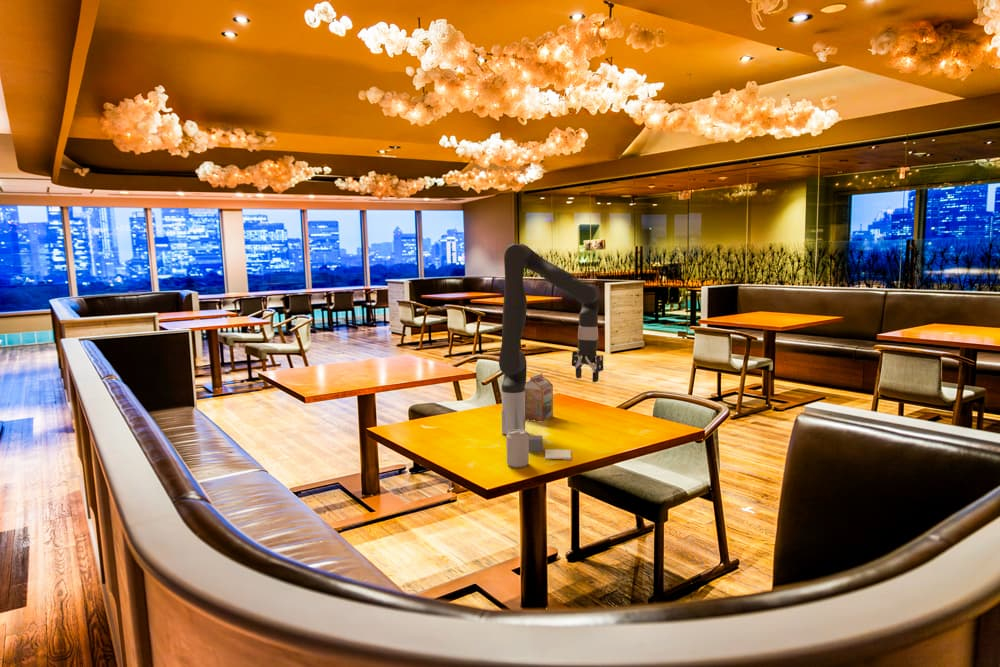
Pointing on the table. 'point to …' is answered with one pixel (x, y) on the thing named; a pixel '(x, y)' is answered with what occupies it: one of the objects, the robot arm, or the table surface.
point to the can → (517, 448)
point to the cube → (535, 443)
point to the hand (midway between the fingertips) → (586, 379)
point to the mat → (558, 454)
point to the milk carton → (538, 398)
